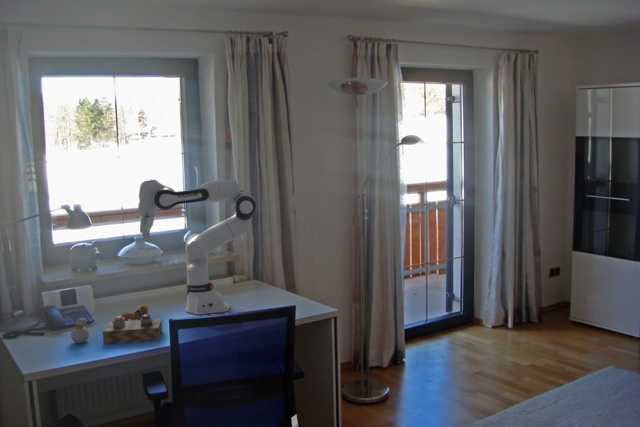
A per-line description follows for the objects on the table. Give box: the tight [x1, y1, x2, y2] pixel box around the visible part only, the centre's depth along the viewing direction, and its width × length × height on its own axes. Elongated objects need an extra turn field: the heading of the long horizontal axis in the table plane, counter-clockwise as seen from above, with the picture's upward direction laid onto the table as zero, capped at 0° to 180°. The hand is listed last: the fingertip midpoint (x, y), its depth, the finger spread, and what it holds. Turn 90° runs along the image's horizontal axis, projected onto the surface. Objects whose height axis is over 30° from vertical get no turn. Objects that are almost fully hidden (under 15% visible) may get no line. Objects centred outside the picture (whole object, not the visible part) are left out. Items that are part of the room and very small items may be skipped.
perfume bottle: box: [70, 316, 90, 344], centre depth 294 cm, size 8×10×12 cm
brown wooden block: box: [102, 318, 163, 346], centre depth 299 cm, size 24×14×6 cm, turn 98°
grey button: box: [140, 313, 153, 326], centre depth 300 cm, size 4×4×6 cm
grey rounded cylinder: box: [112, 315, 125, 328], centre depth 298 cm, size 4×4×6 cm
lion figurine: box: [121, 305, 149, 321], centre depth 318 cm, size 15×5×9 cm, turn 116°
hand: (145, 238), depth 333 cm, fingers open, 8 cm apart
